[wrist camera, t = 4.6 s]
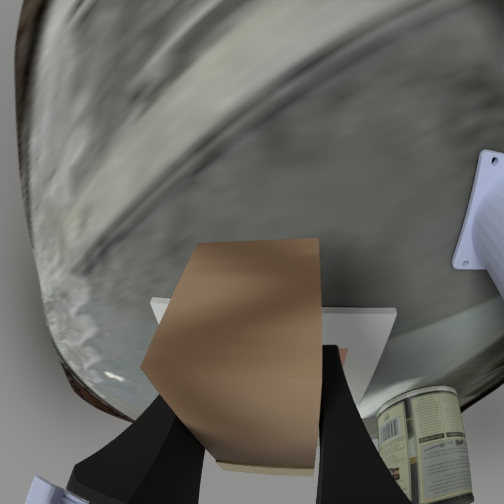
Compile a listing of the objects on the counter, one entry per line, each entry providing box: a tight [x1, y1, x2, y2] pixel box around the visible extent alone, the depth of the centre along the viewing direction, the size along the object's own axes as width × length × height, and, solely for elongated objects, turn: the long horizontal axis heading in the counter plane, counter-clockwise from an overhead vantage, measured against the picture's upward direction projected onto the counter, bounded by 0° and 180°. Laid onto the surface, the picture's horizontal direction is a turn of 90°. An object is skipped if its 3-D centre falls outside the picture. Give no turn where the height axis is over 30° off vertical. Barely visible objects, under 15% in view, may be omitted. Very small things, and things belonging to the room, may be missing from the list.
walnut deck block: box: [140, 238, 322, 476], centre depth 11 cm, size 4×9×5 cm, turn 9°
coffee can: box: [376, 386, 474, 504], centre depth 23 cm, size 10×10×14 cm
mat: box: [150, 297, 397, 404], centre depth 25 cm, size 18×14×1 cm
